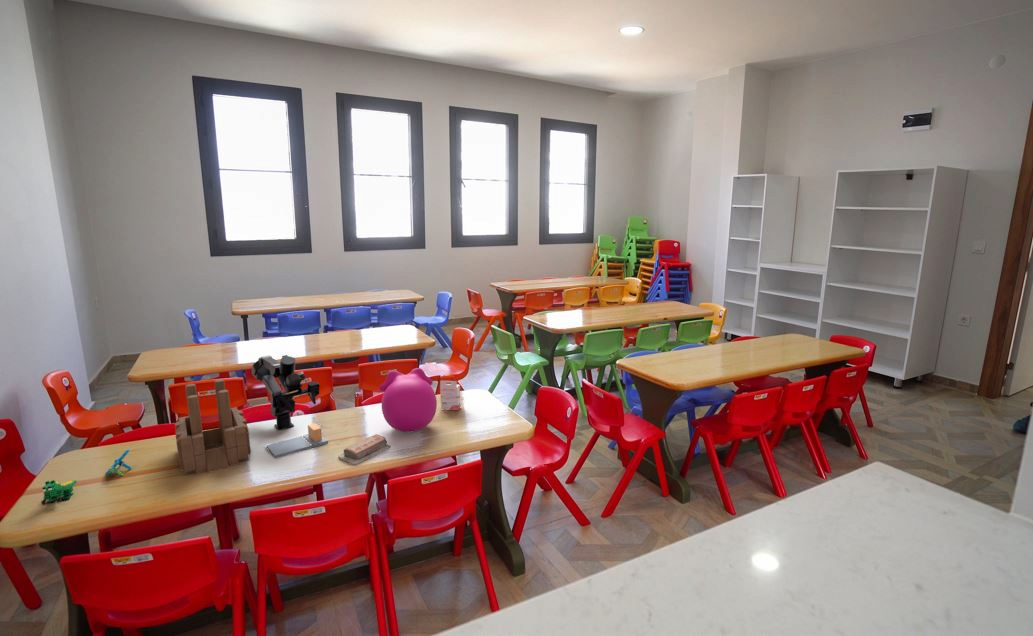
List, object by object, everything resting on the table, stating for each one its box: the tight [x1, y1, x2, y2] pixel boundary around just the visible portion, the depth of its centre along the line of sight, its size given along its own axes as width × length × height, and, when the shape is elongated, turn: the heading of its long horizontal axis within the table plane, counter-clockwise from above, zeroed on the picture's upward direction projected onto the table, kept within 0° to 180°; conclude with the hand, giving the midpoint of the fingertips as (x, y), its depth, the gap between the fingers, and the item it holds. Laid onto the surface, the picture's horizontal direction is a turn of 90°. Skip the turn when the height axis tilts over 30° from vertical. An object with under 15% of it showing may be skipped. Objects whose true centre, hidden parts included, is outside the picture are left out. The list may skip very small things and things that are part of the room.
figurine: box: [378, 367, 438, 433], centre depth 221 cm, size 23×24×25 cm
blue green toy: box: [105, 448, 133, 477], centre depth 188 cm, size 11×6×10 cm
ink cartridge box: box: [439, 380, 462, 411], centre depth 245 cm, size 9×5×15 cm, turn 80°
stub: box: [302, 422, 329, 448], centre depth 212 cm, size 12×6×6 cm, turn 40°
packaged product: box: [337, 433, 392, 466], centre depth 201 cm, size 18×5×10 cm
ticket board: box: [265, 435, 314, 459], centre depth 206 cm, size 12×14×1 cm
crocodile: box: [41, 479, 77, 506], centre depth 171 cm, size 20×6×9 cm, turn 24°
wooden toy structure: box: [174, 378, 252, 476], centre depth 198 cm, size 23×30×27 cm
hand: (303, 406), depth 206 cm, fingers open, 9 cm apart
